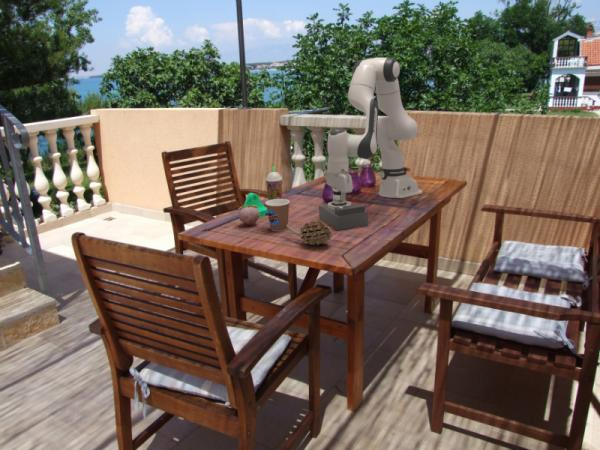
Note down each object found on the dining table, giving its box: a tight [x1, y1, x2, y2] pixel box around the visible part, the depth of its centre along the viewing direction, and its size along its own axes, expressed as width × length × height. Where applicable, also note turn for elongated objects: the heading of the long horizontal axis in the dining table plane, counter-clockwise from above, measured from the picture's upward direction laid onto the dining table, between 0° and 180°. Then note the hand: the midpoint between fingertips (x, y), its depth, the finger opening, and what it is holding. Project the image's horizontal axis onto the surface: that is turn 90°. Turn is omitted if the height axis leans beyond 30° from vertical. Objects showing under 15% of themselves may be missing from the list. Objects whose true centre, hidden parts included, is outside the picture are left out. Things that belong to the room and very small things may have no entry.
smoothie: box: [265, 165, 283, 201], centre depth 255 cm, size 8×8×20 cm
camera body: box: [318, 200, 369, 231], centre depth 226 cm, size 14×20×9 cm
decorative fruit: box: [237, 203, 260, 226], centre depth 228 cm, size 9×8×10 cm
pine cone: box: [286, 219, 333, 246], centre depth 202 cm, size 22×10×10 cm, turn 56°
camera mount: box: [243, 192, 268, 218], centre depth 243 cm, size 12×8×10 cm, turn 129°
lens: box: [331, 187, 346, 206], centre depth 227 cm, size 6×6×10 cm
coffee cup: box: [265, 198, 291, 232], centre depth 220 cm, size 10×10×12 cm
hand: (339, 198), depth 227 cm, fingers closed on lens, 5 cm apart
